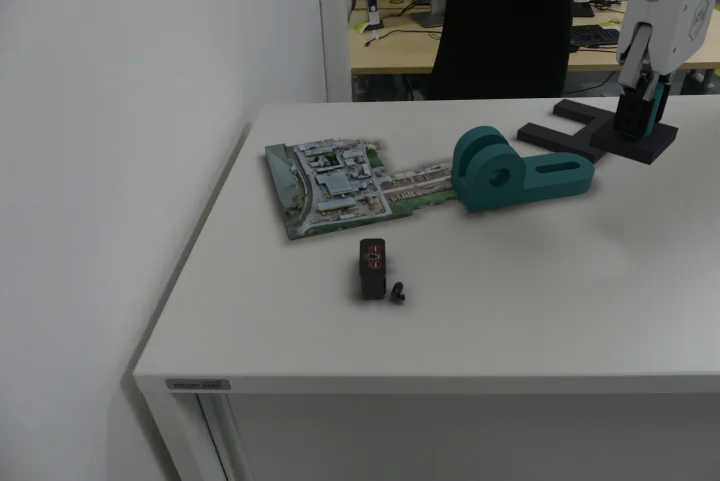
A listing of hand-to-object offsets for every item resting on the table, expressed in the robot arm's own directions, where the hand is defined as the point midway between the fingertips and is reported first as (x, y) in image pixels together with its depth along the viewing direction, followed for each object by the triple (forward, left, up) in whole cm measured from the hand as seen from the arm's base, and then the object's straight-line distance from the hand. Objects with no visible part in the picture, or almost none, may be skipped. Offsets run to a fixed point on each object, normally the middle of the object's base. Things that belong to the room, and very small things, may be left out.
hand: (636, 124), depth 58 cm
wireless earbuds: (+25, -14, -14) cm, 31 cm away
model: (+8, -29, -14) cm, 33 cm away
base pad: (-19, -14, -14) cm, 27 cm away
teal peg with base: (0, 0, -2) cm, 2 cm away
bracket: (-1, -12, -13) cm, 18 cm away
